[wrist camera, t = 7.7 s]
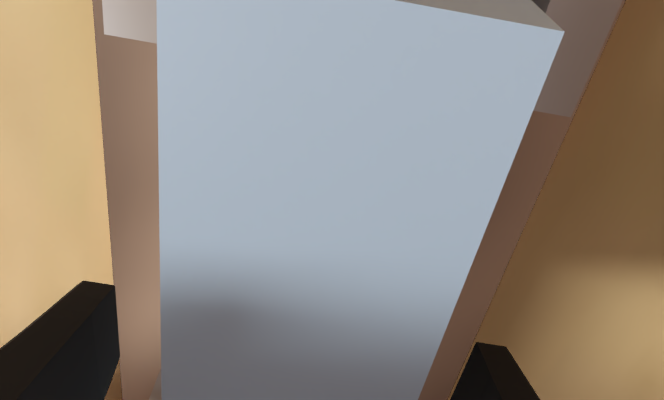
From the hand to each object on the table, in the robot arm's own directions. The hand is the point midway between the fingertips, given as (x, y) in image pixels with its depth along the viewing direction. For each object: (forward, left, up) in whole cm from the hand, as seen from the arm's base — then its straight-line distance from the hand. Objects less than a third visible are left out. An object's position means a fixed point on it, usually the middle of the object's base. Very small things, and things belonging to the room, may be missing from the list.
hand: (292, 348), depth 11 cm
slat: (0, 0, -3) cm, 3 cm away
